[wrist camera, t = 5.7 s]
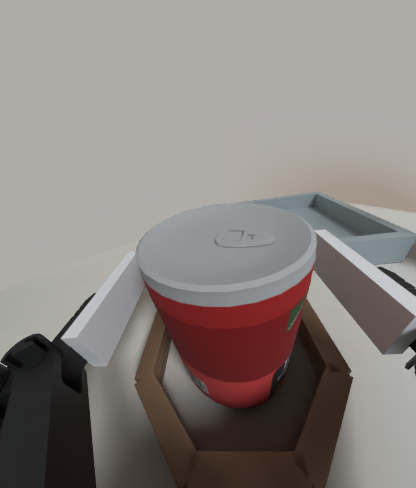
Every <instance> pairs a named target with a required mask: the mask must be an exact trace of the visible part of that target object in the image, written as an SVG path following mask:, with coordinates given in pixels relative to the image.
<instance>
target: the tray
mask: <svg viewBox="0 0 416 488" xmlns="http://www.w3.org/2000/svg"><path fill="white" fill-rule="evenodd" d="M241 203H251V204H261V205H268V206H273V207H276V208H280V209H284V210H286V211H289V212H291V213H294V214H296V215H298V216H299V217H301V218H303V219H304V220H305V221H306V222H308V223H309V224H310V225H311V226H312V228H313V230H323V229H325V230H327V231H328V232H329V233H331V234H332V235H333V236H335V237H336V238H338V239H339V240H340V241H342V242H343V243H344V244H346V245H347V246H348V247H350V248H351V249H352V250H354V251H355V252H356V253H358V254H359V255H360V256H362V257H363V258H364V259H366V260H367V261H369V262H370V263H371V264H373V265H375V264H386V263H396V262H403V260H404V259H405V257H406V255H407V254H408V252H409V250H410V249H411V247H412V246H413V244H414V242H415V241H416V234H415V233H413V232H411V231H409V230H406V229H404V228H402V227H399V226H397V225H395V224H392V223H390V222H388V221H385V220H383V219H381V218H378V217H376V216H374V215H372V214H369V213H367V212H365V211H362V210H360V209H358V208H355V207H353V206H351V205H348V204H346V203H344V202H341V201H339V200H337V199H335V198H332V197H330V196H328V195H325V194H323V193H320V192H313V193H305V194H298V195H291V196H284V197H276V198H269V199H262V200H254V201H247V202H241Z"/></svg>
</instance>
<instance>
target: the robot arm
mask: <svg viewBox="0 0 416 488" xmlns="http://www.w3.org/2000/svg"><path fill="white" fill-rule="evenodd" d="M314 232H315V234H316V239H317V246H316V260H315V264H314V267H313V270H314V271H315V272H316V273H317V275H318V276H319V277H320V278H321V279H322V281H323V282H324V283H325V284H326V286H327V287H328V288H329V289H330V290H331V292H332V293H333V294H334V295H335V297H336V298H337V299H338V300H339V301H340V303H341V304H342V305H343V306H344V308H345V309H346V310H347V311H348V313H349V314H350V315H351V316H352V317H353V319H354V320H355V321H356V322H357V324H358V325H359V326H360V327H361V328H362V330H363V331H364V332H365V333H366V335H367V336H368V337H369V338H370V339H371V341H372V342H373V343H374V344H375V346H376V347H377V348H378V349H379V351H380V352H381V353H382V354H383V355H386V354H402V353H403V352H404V351H405V350H406V349H407V348H408V347H409V346H410V347H411V348H412V349H413V350H414V351H415V352H416V289H415V287H414V286H412V285H411V284H409V283H408V282H405V280H404V279H402V278H401V277H399V276H398V275H397V274H395V273H393V272H391V271H389V270H387V269H385V268H382V267H375V266H374V265H373V264H371V263H370V262H369V261H367V260H366V259H364V258H363V257H362V256H360V255H359V254H358V253H356V252H355V251H354V250H352V249H351V248H350V247H348V246H347V245H346V244H344V243H343V242H342V241H340V240H339V239H338V238H336V237H335V236H333V235H332V234H331V233H329V232H328V231H327V230H325V229H323V230H314ZM135 255H136V251H132V252H128V253H127V255H126V256H125V257H124V258H123V260H122V261H121V262H120V264H119V265H118V266H117V267H116V269H115V270H114V271H113V273H112V274H111V275H110V276H109V278H108V279H107V280H106V281H105V283H104V284H103V285H102V287H101V288H100V289H99V290H98V292H97V293H94V294H93V295H92V296H90V297H89V298H88V299H87V300H86V301H85V302H84V303H83V304H82V306H81V307H80V309H79V310H77V312H76V313H75V314H74V316H73V317H72V318H71V319H70V320H69V322H68V323H67V324H66V325H65V326H64V328H63V329H62V330H61V331H60V333H59V334H58V335H57V336H56V337H55V339H54V340H53V341H52V342H50V341H49V340H48V339H47V338H45V337H44V336H43V335H41V334H33V335H31V336H28V337H26V338H24V339H23V340H21V341H20V342H18V343H17V344H15V345H14V346H13V347H12V348H11V349H10V350H9V351H8V352H7V353H6V354H5V355H4V356H3V358H2V360H1V363H3V364H4V365H6V366H8V367H5V366H4V365H2V364H0V488H96V480H95V468H94V456H93V445H92V433H91V421H90V409H89V398H88V386H87V374H86V371H85V369H84V367H85V365H86V363H87V362H88V363H89V364H90V365H92V366H93V367H106V366H108V363H109V361H110V359H111V357H112V355H113V353H114V351H115V349H116V347H117V344H118V342H119V340H120V338H121V336H122V334H123V332H124V330H125V328H126V326H127V323H128V321H129V319H130V317H131V315H132V313H133V311H134V309H135V307H136V305H137V302H138V300H139V298H140V296H141V294H142V292H143V290H144V288H145V286H146V285H145V283H144V281H143V279H142V277H141V273H140V270H139V267H138V264H137V261H136V257H135ZM412 366H415V372H414V373H415V374H416V355H415V356H414V357H413V358H412V359H411V360H409V361H408V362H407V363H406V365H405V368H406V369H408V370H409V369H410V368H411V367H412Z"/></svg>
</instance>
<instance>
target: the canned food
mask: <svg viewBox="0 0 416 488" xmlns="http://www.w3.org/2000/svg"><path fill="white" fill-rule="evenodd" d="M316 246H317V239H316V234H315V232H314V230H313V228H312V226H311V225H310V224H309V223H308V222H306V221H305V220H304V219H303V218H301V217H299V216H298V215H296V214H294V213H291V212H289V211H286V210H284V209H280V208H276V207H273V206H268V205H261V204H251V203H229V204H217V205H211V206H205V207H200V208H196V209H192V210H189V211H185V212H182V213H180V214H177V215H174V216H172V217H170V218H168V219H166V220H164V221H163V222H161V223H159V224H158V225H156V226H155V227H153V228H152V229H151V230H149V231H148V232H147V233H146V234H145V235H144V236H143V238H142V239H141V240H140V242H139V244H138V246H137V248H136V255H135V257H136V261H137V264H138V267H139V270H140V273H141V277H142V279H143V281H144V283H145V285H146V287H147V289H148V291H149V294H150V296H151V298H152V300H153V302H154V304H155V306H156V308H157V310H158V312H159V314H160V316H161V318H162V320H163V322H164V324H165V326H166V328H167V330H168V332H169V334H170V336H171V338H172V340H173V342H174V344H175V346H176V348H177V350H178V352H179V354H180V356H181V358H182V360H183V362H184V364H185V366H186V368H187V370H188V372H189V374H190V376H191V378H192V379H193V381H194V382H195V384H196V386H197V387H198V388H199V389H200V390H201V391H202V392H203V393H204V394H205V395H206V396H208V397H209V398H211V399H212V400H214V401H215V402H217V403H220V404H222V405H225V406H228V407H233V408H248V407H255V406H257V405H259V404H261V403H264V402H266V401H267V400H268V399H270V398H271V397H272V396H273V395H274V394H275V393H276V392H277V391H278V389H279V388H280V386H281V385H282V383H283V381H284V378H285V376H286V373H287V369H288V365H289V362H290V358H291V354H292V350H293V347H294V343H295V339H296V335H297V331H298V328H299V324H300V320H301V316H302V312H303V309H304V305H305V301H306V297H307V294H308V290H309V286H310V282H311V276H312V271H313V267H314V264H315V260H316Z"/></svg>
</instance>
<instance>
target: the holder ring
mask: <svg viewBox="0 0 416 488" xmlns="http://www.w3.org/2000/svg"><path fill="white" fill-rule="evenodd" d="M297 332H298V334H299V336H300V338H301V340H302V342H303V345H304V347H305V349H306V351H307V353H308V355H309V358H310V360H311V362H312V364H313V366H314V368H315V371H316V373H317V375H318V377H319V381H318V384H317V387H316V389H315V392H314V395H313V397H312V400H311V402H310V405H309V408H308V410H307V413H306V416H305V418H304V421H303V424H302V426H301V429H300V432H299V434H298V437H297V440H296V442H295V445H294V447H293V450H292V452H280V451H199V449H198V447H197V445H196V444H195V442H194V440H193V438H192V437H191V435H190V433H189V431H188V429H187V428H186V426H185V424H184V422H183V420H182V419H181V417H180V415H179V413H178V412H177V410H176V408H175V406H174V404H173V403H172V401H171V399H170V397H169V396H168V394H167V392H166V390H165V388H164V387H163V385H162V382H163V377H164V373H165V368H166V363H167V358H168V353H169V349H170V344H171V339H172V338H171V336H170V334H169V332H168V330H167V328H166V326H165V324H164V322H163V320H162V318H161V316H160V314H159V312H158V310H157V313H156V316H155V319H154V322H153V325H152V328H151V331H150V334H149V337H148V340H147V343H146V346H145V349H144V352H143V355H142V358H141V361H140V364H139V367H138V370H137V373H136V376H135V380H136V381H137V383H136V384H135V387H136V390H137V392H138V394H139V397H140V399H141V401H142V404H143V406H144V408H145V411H146V413H147V415H148V418H149V420H150V422H151V425H152V427H153V429H154V432H155V434H156V436H157V439H158V441H159V444H160V446H161V448H162V451H163V453H164V455H165V458H166V460H167V462H168V465H169V467H170V469H171V472H172V474H173V476H174V479H175V481H176V483H177V486H178V488H325V486H326V482H327V478H328V474H329V470H330V466H331V463H332V459H333V455H334V451H335V447H336V443H337V439H338V435H339V431H340V427H341V423H342V419H343V415H344V411H345V407H346V404H347V400H348V396H349V392H350V388H351V384H352V380H353V377H351V376H350V375H349V374H350V373H351V370H350V368H349V366H348V365H347V363H346V362H345V360H344V358H343V357H342V355H341V353H340V352H339V350H338V349H337V347H336V345H335V344H334V342H333V341H332V339H331V337H330V336H329V334H328V332H327V331H326V329H325V328H324V326H323V324H322V323H321V321H320V319H319V318H318V316H317V315H316V313H315V311H314V310H313V308H312V307H311V305H310V303H309V302H308V300H307V299H306V301H305V305H304V309H303V312H302V316H301V320H300V324H299V328H298V331H297Z"/></svg>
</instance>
